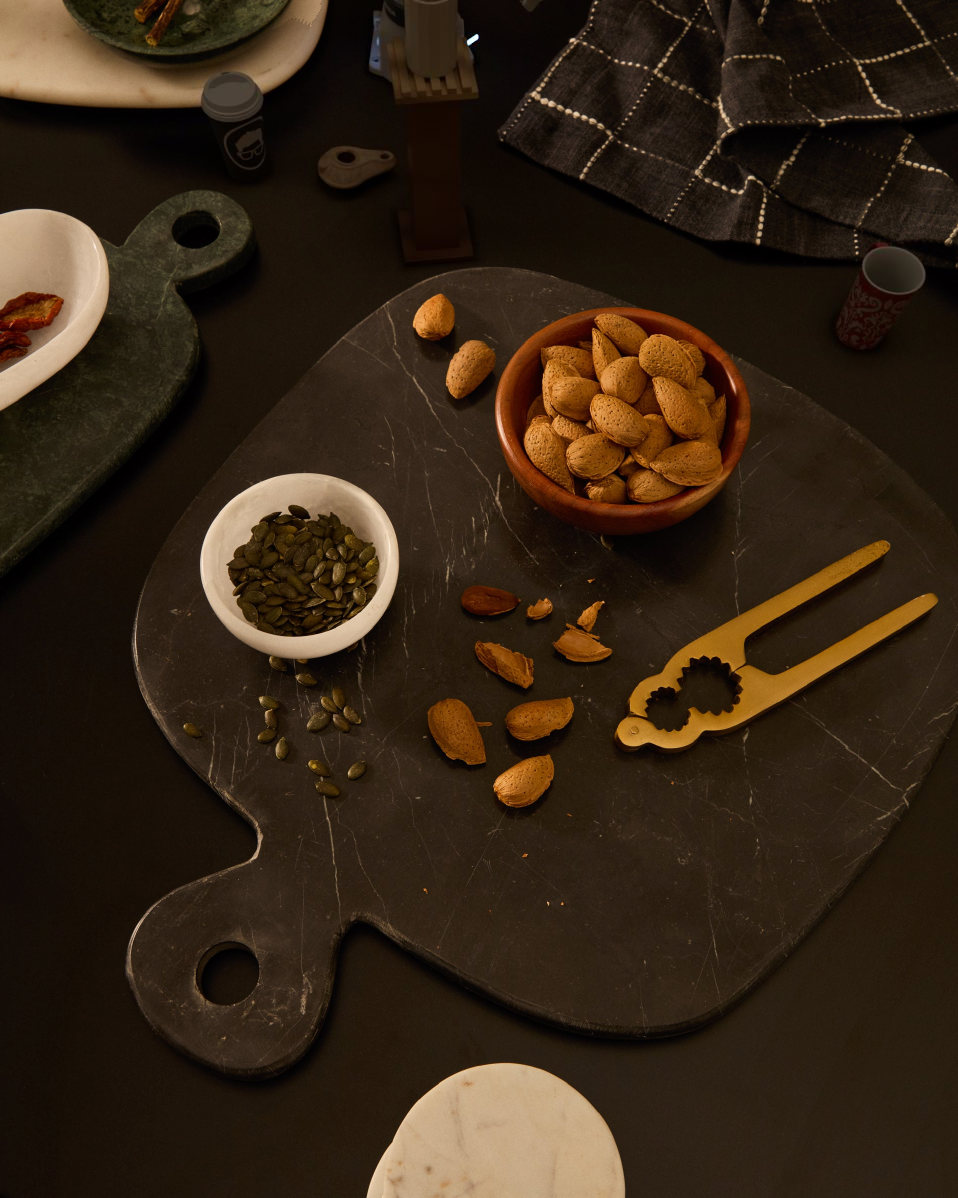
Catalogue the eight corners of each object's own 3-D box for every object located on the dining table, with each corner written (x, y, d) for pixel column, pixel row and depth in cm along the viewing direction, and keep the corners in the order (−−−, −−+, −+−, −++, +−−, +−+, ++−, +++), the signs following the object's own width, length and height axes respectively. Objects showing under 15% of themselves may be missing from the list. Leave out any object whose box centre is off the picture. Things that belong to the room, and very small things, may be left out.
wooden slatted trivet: (386, 49, 133) (385, 37, 131) (466, 43, 134) (466, 31, 132) (395, 104, 128) (395, 92, 127) (478, 98, 129) (478, 86, 128)
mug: (890, 357, 149) (929, 295, 137) (831, 353, 149) (865, 291, 137) (882, 294, 155) (918, 229, 142) (825, 290, 155) (857, 224, 143)
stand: (397, 215, 159) (386, 46, 132) (463, 209, 160) (466, 40, 133) (405, 266, 155) (395, 101, 128) (473, 259, 156) (478, 94, 129)
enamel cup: (403, 46, 131) (400, -30, 122) (453, 42, 131) (453, -33, 122) (409, 79, 128) (406, 5, 119) (460, 76, 128) (460, 1, 119)
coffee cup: (281, 151, 165) (266, 70, 151) (270, 192, 161) (254, 112, 147) (225, 146, 165) (205, 64, 151) (213, 186, 161) (191, 106, 147)
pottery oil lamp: (402, 189, 161) (387, 169, 154) (336, 209, 164) (318, 192, 157) (393, 138, 162) (378, 117, 155) (327, 160, 165) (309, 140, 158)
